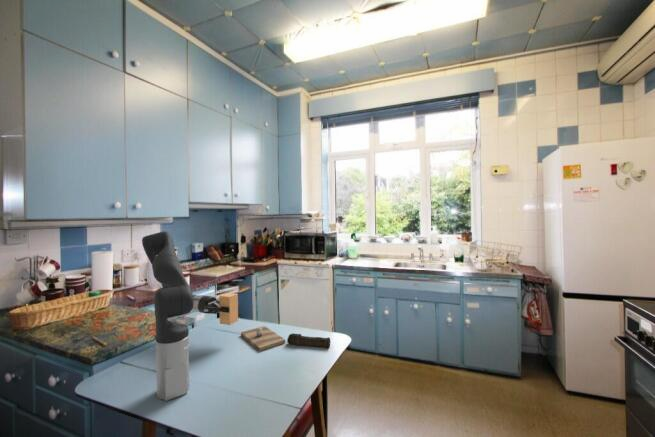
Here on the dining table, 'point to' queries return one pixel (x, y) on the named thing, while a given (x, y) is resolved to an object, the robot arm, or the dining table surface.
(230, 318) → the light orange rectangular block
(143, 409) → the dining table surface
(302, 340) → the dark brown rough bar
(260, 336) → the jig plate
